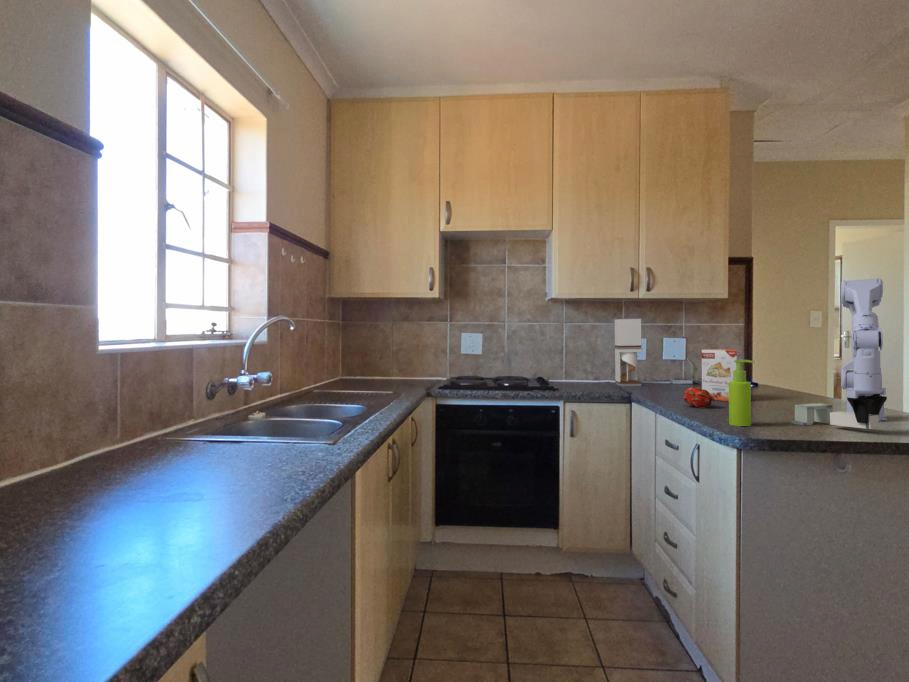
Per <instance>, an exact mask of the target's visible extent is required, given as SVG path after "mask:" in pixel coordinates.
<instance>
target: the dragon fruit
mask: <svg viewBox="0 0 909 682" xmlns="http://www.w3.org/2000/svg"><path fill="white" fill-rule="evenodd" d="M682 399H683V401H684V403H688V405H689V407H696V408H700V409H706V408H707V407H706V406H712V403H713V402H714V401H715V400H714V397H713V396H712V395H710V393H709V392H708V391H707V390H702V386H697V387H696V386H695V385H694V386H693V385H692V386H691V387H688V388H687V389H686V390H685V391H684V392H683V396H682ZM712 401H713V402H712Z"/></svg>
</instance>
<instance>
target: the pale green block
mask: <svg viewBox="0 0 909 682" xmlns="http://www.w3.org/2000/svg"><path fill="white" fill-rule="evenodd" d="M813 412H814V413H813ZM830 412H833V404H831V403H829V404H828V403H822V402H817V403H804V404H803V403H802V404H794V420H790V424H793V425H799V426H803V427H804V426H813V425H814V424H813V423H814V422H817V423H822V424H830ZM813 417H814V419H813ZM813 420H814V422H813Z"/></svg>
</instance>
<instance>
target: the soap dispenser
mask: <svg viewBox="0 0 909 682" xmlns="http://www.w3.org/2000/svg"><path fill="white" fill-rule="evenodd" d="M734 362H736V370H735V371H733V381H731V382H729V401H728V425H730V426H733V425H734V427H740V426H748V427H751V426H752V383H751V382H750V381H747V371H746V370H744V364H743V363H751V364H754V363H755V360H750V359H743V360H734Z"/></svg>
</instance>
